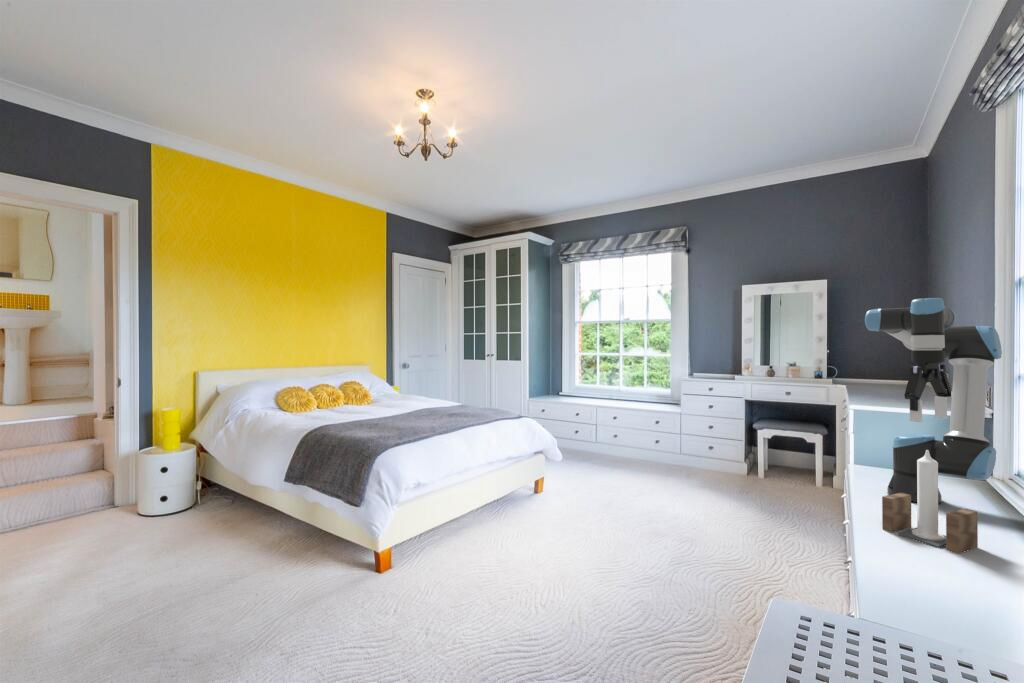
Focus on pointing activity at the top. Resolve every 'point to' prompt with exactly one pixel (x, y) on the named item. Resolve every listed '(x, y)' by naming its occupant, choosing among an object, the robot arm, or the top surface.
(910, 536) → the felt pad
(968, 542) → the bookend
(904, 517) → the bookend
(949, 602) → the top surface
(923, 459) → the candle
